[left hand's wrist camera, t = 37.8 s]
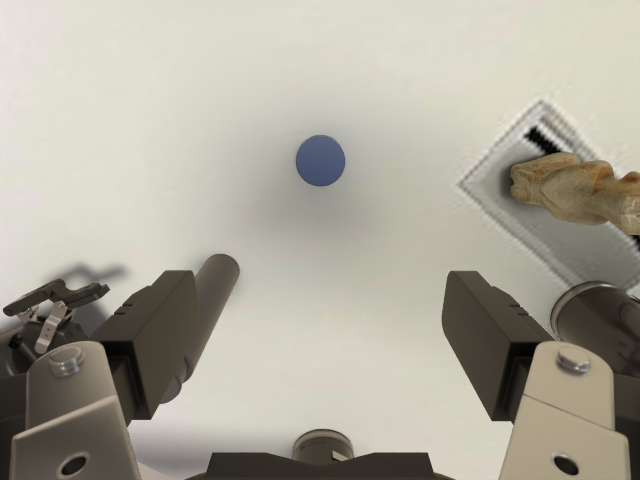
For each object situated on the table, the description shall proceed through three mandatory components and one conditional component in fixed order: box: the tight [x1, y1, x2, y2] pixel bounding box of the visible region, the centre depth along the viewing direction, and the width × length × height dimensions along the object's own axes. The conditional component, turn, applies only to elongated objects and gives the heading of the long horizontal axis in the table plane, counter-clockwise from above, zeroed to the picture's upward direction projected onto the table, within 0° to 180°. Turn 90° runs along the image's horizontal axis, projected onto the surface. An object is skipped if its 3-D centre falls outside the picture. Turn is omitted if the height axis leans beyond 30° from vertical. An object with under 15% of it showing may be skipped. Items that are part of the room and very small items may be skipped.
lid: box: [296, 135, 345, 186], centre depth 38 cm, size 5×5×2 cm
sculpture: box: [510, 152, 640, 235], centre depth 32 cm, size 6×7×15 cm
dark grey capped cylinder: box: [160, 254, 239, 404], centre depth 35 cm, size 4×4×19 cm
